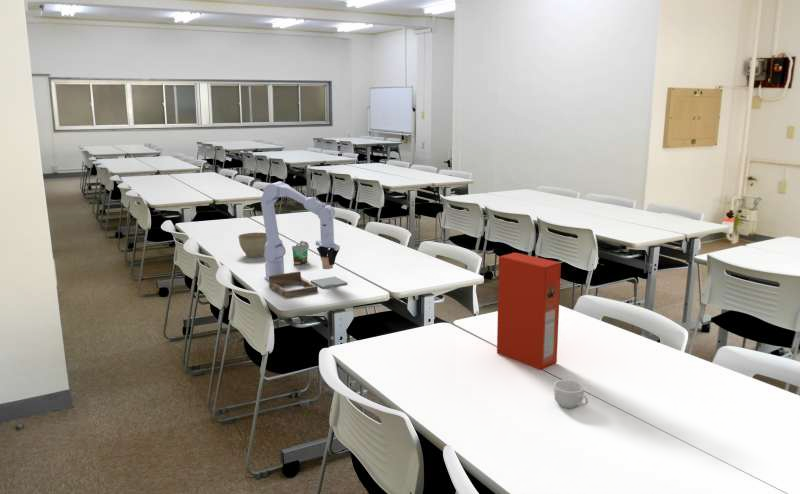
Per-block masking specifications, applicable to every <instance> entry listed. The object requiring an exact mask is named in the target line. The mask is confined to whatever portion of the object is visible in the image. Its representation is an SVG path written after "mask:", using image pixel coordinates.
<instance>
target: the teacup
mask: <svg viewBox="0 0 800 494" xmlns="http://www.w3.org/2000/svg"><path fill="white" fill-rule="evenodd" d="M553 393H554V394H553V396H554V400H555V402H556V403H557V404H558V405H559V406H561V407H562V408H565V409H575V408H578V407H579V406H586V405H587V404H588V403H589V399H588V397H587V396H586V395H584V393H585V385H583V384H582V383H581V382H579V381H576V380H572V379H558V380H556V381H555V382H554V383H553ZM583 400H585V403H583Z"/></svg>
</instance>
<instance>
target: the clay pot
mask: <svg viewBox="0 0 800 494" xmlns="http://www.w3.org/2000/svg"><path fill="white" fill-rule="evenodd" d="M321 264H322V266H321V267H322V269H323V270H332V269H334V265H329V258H328V254H327V255H326V256H322V260H321Z"/></svg>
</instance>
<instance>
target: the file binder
mask: <svg viewBox="0 0 800 494" xmlns="http://www.w3.org/2000/svg"><path fill="white" fill-rule="evenodd" d="M561 268H562V263H561V262H559V261H555V260H551V259H546V258H542V257H537V256H533V255H529V254H524V253H519V252H512V253H508V254H504V255H500V256H498V277H497V279H498V281H497V285H498V287H497V331H496V332H497V333H496V334H497V337H496V338H497V340H496V354H498V355H500V356H503V357H506V358H508V359H511V360H513V361H515V362H517V363H522V364H525V365H527V366H529V367H533V368H534V369H537V370H540V371H543V370H545V369H547V368H550V367H551V366H554V365H556V363H557V362H558V344H559V343H558V342H559V341H558V339H559V315H560V314H559V313H560V296H561V295H560V294H561V274H562V273H561V271H562V269H561Z"/></svg>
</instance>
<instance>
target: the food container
mask: <svg viewBox="0 0 800 494" xmlns="http://www.w3.org/2000/svg"><path fill="white" fill-rule="evenodd" d="M299 241H300V242H299V243H297V244H296V245H292V247H291V251H292V256H293V266H304V265H307V264H308V251H309V250H308V249H309V248H310V246H309V242H307V241H304V240H299Z"/></svg>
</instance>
